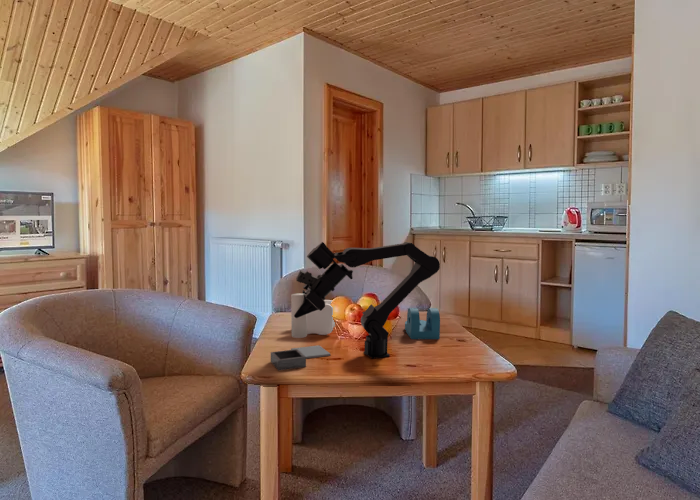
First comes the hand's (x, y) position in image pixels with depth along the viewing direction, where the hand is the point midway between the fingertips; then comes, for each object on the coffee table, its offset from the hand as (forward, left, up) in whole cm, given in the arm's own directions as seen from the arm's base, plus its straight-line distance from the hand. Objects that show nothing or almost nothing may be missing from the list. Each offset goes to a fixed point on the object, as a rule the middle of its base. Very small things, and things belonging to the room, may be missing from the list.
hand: (294, 315), depth 145 cm
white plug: (-1, 0, -7) cm, 7 cm away
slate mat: (-6, -3, -14) cm, 15 cm away
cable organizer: (-17, -28, -14) cm, 35 cm away
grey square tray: (+4, +5, -14) cm, 15 cm away
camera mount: (-54, -11, -14) cm, 57 cm away
